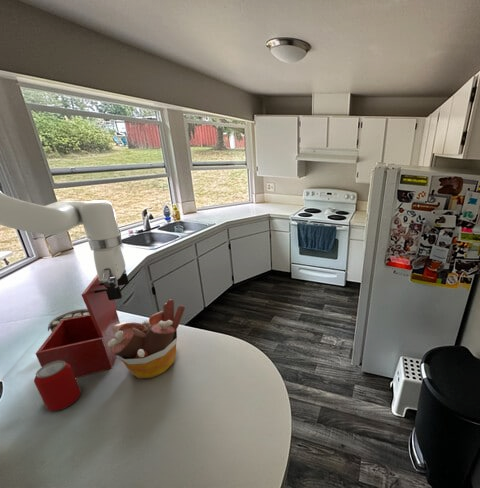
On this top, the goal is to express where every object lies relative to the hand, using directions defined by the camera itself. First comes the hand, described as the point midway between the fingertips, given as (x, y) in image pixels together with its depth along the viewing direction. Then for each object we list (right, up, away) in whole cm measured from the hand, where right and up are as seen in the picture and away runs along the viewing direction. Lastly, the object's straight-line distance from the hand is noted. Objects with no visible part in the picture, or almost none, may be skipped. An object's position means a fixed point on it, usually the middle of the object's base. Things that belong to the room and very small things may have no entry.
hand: (119, 291), depth 81 cm
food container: (-24, -19, +11) cm, 33 cm away
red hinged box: (-12, -23, +3) cm, 26 cm away
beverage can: (-5, -29, -12) cm, 31 cm away
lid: (-5, -3, -1) cm, 6 cm away
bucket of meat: (+12, -24, +1) cm, 27 cm away
